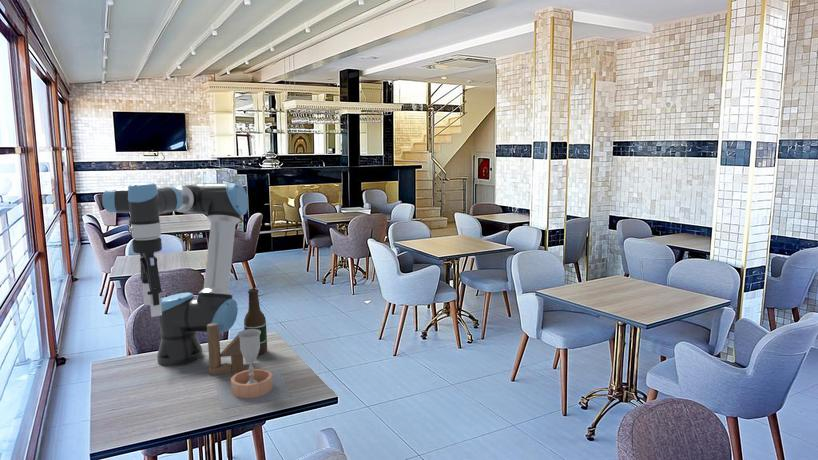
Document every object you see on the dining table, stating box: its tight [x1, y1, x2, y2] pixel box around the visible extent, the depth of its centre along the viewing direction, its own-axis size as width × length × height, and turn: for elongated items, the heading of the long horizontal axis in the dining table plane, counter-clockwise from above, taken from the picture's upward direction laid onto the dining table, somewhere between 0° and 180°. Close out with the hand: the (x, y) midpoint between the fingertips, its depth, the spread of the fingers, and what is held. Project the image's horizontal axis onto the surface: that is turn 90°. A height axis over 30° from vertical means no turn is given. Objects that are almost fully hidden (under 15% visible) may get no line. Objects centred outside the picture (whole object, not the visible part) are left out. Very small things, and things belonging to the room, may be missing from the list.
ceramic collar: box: [230, 368, 273, 398], centre depth 171 cm, size 12×12×4 cm
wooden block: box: [206, 323, 245, 376], centre depth 185 cm, size 4×11×18 cm, turn 104°
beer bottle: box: [243, 288, 268, 357], centre depth 204 cm, size 8×8×24 cm
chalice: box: [237, 329, 261, 384], centre depth 170 cm, size 7×7×18 cm
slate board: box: [215, 371, 292, 410], centre depth 172 cm, size 20×20×2 cm
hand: (152, 310), depth 162 cm, fingers open, 13 cm apart
